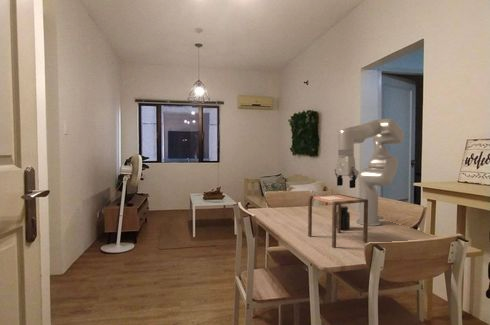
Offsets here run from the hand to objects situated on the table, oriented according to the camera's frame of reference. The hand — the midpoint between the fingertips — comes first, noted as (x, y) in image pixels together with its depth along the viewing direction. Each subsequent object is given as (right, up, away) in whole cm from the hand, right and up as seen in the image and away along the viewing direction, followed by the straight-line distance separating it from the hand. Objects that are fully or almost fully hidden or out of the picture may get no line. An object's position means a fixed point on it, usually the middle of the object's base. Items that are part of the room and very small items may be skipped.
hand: (345, 186), depth 152 cm
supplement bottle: (0, -23, +5) cm, 24 cm away
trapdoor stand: (-9, -24, -14) cm, 29 cm away
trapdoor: (-9, -5, -15) cm, 18 cm away
